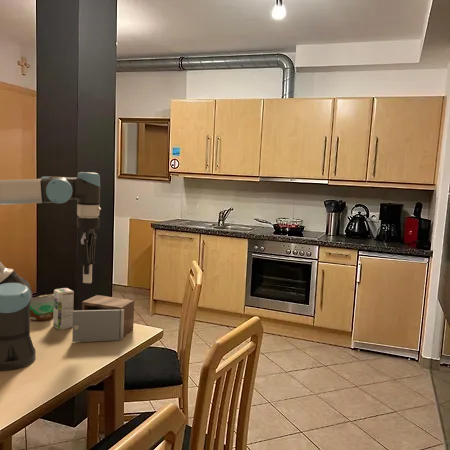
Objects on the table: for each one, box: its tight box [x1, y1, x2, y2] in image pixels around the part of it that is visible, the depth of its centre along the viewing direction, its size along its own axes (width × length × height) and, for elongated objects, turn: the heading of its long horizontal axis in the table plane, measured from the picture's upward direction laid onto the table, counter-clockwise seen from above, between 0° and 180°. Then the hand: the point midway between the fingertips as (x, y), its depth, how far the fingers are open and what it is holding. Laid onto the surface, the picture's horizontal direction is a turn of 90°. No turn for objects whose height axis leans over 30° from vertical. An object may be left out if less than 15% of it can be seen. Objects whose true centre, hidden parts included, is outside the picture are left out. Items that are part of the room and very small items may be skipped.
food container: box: [30, 292, 54, 323], centre depth 179 cm, size 12×6×10 cm, turn 143°
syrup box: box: [52, 287, 75, 331], centre depth 172 cm, size 6×6×14 cm
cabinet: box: [81, 294, 135, 340], centre depth 170 cm, size 16×10×12 cm, turn 75°
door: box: [71, 309, 124, 343], centre depth 159 cm, size 17×2×11 cm, turn 105°
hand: (87, 282), depth 161 cm, fingers closed
